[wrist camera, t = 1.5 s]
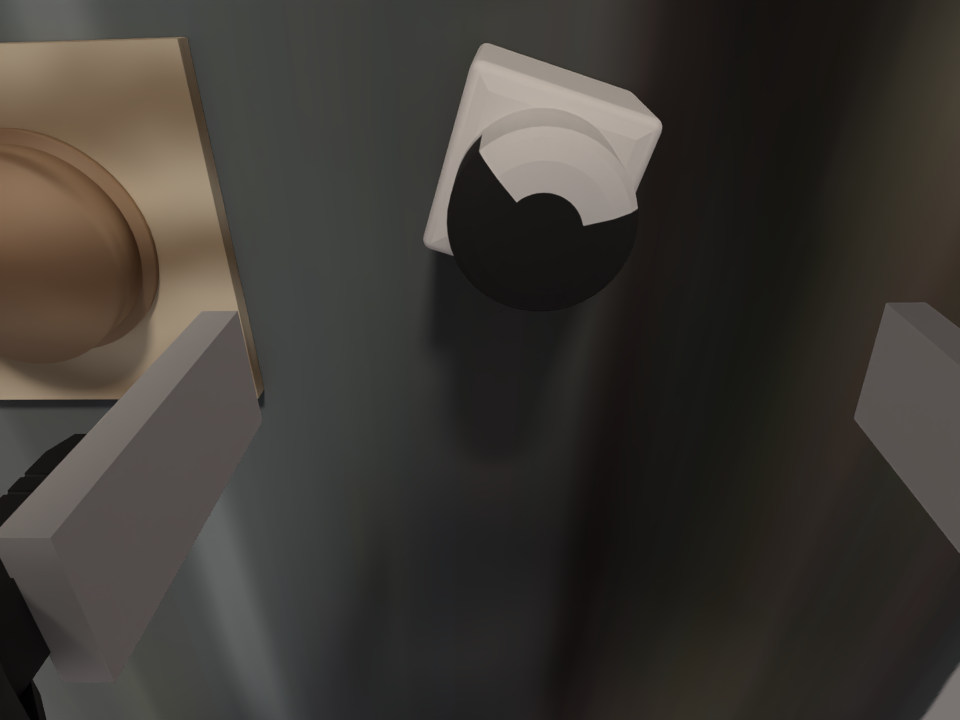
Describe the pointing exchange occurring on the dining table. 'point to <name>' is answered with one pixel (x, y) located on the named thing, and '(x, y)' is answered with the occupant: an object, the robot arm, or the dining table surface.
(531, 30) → the dining table surface
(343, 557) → the dining table surface
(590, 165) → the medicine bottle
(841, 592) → the dining table surface
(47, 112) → the base board
